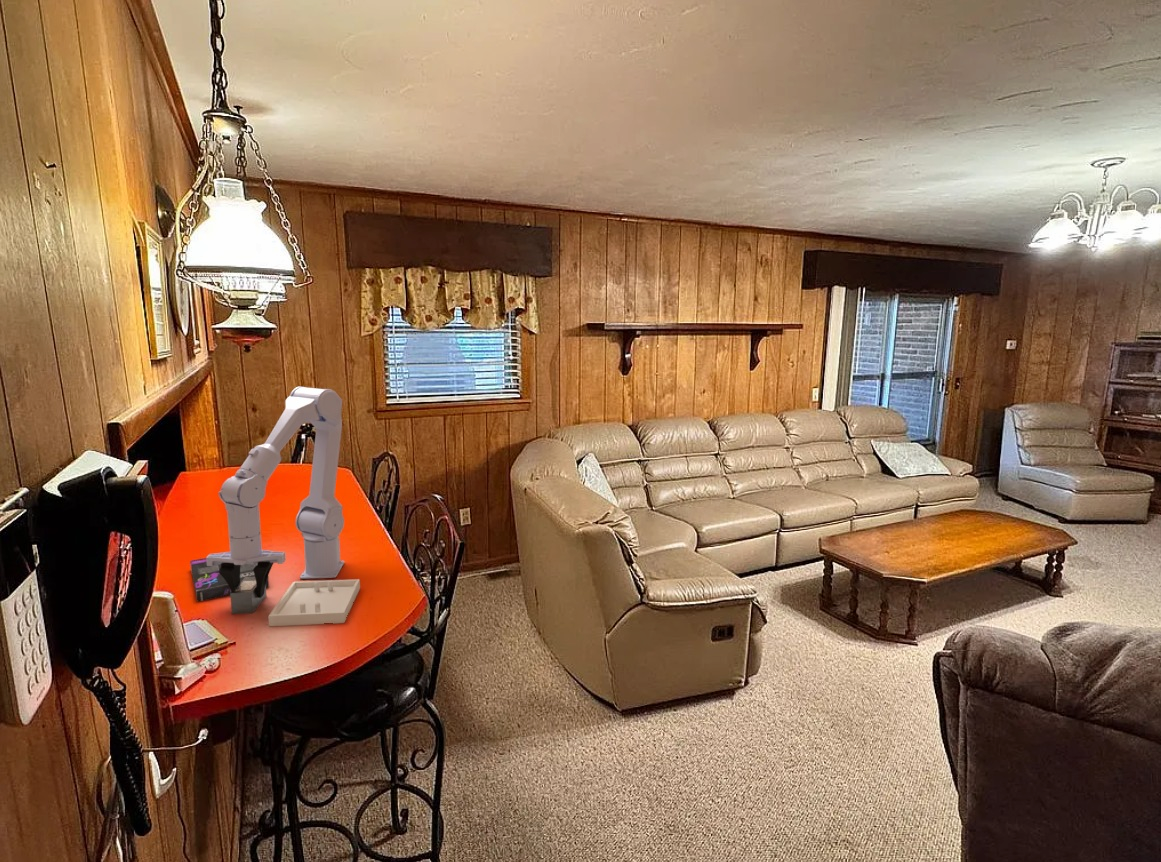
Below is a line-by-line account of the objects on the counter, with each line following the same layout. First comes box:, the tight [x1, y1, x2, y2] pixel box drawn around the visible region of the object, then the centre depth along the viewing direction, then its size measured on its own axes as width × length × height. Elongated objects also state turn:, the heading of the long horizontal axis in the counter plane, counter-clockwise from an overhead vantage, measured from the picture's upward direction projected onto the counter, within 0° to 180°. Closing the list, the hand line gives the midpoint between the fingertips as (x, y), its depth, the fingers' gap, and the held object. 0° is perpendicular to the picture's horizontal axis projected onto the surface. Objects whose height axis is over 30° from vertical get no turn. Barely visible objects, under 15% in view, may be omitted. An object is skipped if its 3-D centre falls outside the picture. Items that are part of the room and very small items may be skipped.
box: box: [189, 557, 270, 603], centre depth 139 cm, size 14×4×20 cm
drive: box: [229, 577, 267, 615], centre depth 126 cm, size 8×4×5 cm, turn 9°
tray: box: [268, 578, 361, 627], centre depth 127 cm, size 16×14×3 cm
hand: (249, 596), depth 126 cm, fingers closed on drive, 4 cm apart
